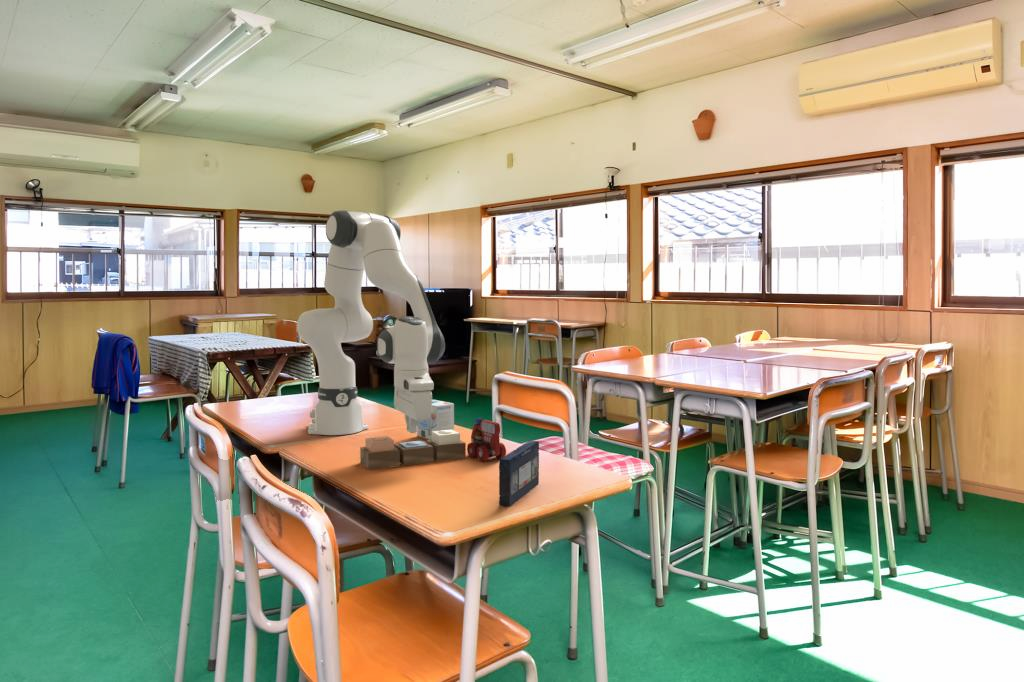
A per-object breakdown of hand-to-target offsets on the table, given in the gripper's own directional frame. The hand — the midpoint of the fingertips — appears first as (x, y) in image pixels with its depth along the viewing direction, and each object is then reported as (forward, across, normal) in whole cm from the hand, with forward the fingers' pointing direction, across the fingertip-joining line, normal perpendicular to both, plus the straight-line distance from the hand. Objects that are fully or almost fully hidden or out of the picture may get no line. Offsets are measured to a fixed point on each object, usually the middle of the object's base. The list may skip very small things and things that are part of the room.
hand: (411, 432), depth 178 cm
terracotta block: (+5, +1, -9) cm, 10 cm away
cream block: (+5, 0, +9) cm, 11 cm away
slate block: (+7, +1, 0) cm, 7 cm away
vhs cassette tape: (+7, +40, +11) cm, 42 cm away
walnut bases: (+7, 0, 0) cm, 7 cm away
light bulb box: (+8, -24, +15) cm, 29 cm away
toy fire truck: (+8, +6, +18) cm, 21 cm away
